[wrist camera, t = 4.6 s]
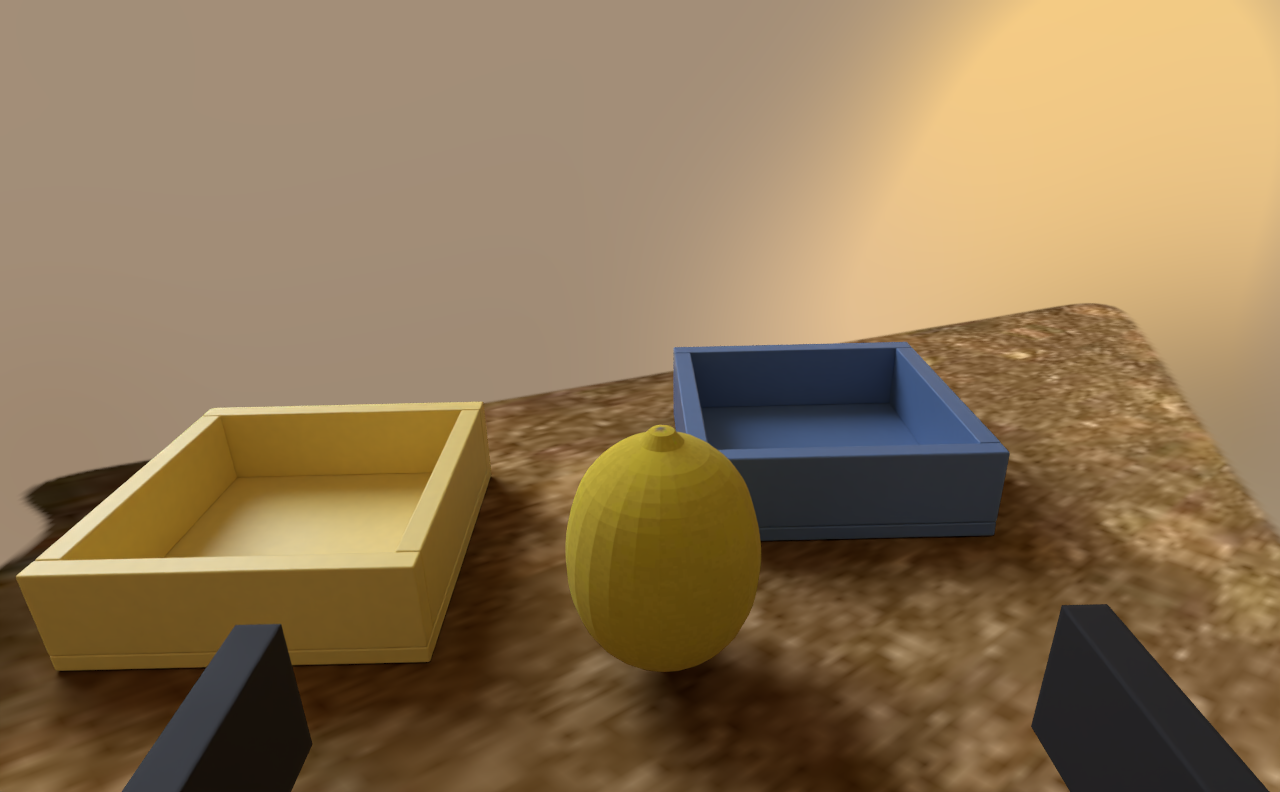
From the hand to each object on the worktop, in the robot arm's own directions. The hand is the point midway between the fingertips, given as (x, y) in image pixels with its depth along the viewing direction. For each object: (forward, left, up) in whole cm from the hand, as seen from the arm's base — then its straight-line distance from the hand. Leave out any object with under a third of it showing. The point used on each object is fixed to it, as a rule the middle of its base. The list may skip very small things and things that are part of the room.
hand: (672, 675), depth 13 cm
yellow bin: (+14, +13, -7) cm, 20 cm away
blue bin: (+20, -7, -7) cm, 23 cm away
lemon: (+8, 0, -7) cm, 11 cm away
